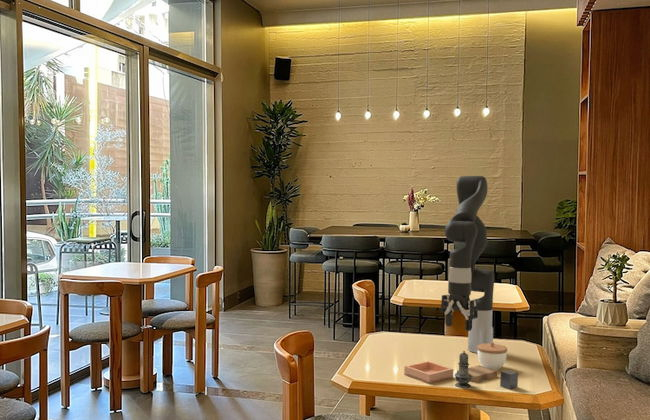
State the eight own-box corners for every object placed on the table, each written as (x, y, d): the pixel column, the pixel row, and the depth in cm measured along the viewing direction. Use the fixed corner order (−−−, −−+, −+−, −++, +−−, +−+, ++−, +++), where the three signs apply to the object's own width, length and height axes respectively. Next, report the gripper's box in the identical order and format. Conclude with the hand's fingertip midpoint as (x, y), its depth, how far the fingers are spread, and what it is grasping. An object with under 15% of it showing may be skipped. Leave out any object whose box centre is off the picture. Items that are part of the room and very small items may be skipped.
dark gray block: (507, 384, 216) (508, 369, 216) (517, 387, 213) (518, 372, 213) (500, 386, 214) (500, 371, 214) (510, 389, 211) (510, 374, 210)
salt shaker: (472, 389, 210) (473, 353, 210) (454, 387, 212) (455, 352, 211) (471, 383, 216) (472, 348, 216) (454, 382, 217) (455, 347, 217)
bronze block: (479, 372, 231) (479, 365, 231) (497, 377, 225) (497, 370, 224) (456, 377, 224) (457, 370, 224) (474, 383, 217) (474, 376, 217)
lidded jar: (501, 373, 228) (502, 348, 227) (472, 368, 234) (473, 343, 233) (510, 366, 237) (510, 341, 236) (482, 361, 243) (482, 337, 242)
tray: (428, 368, 232) (428, 360, 232) (453, 377, 223) (453, 368, 222) (404, 374, 225) (404, 366, 225) (429, 383, 215) (429, 374, 215)
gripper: (483, 282, 210) (482, 331, 210) (451, 277, 221) (450, 323, 222) (468, 284, 205) (466, 333, 206) (436, 278, 217) (435, 325, 218)
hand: (458, 328), depth 214 cm, fingers open, 8 cm apart
